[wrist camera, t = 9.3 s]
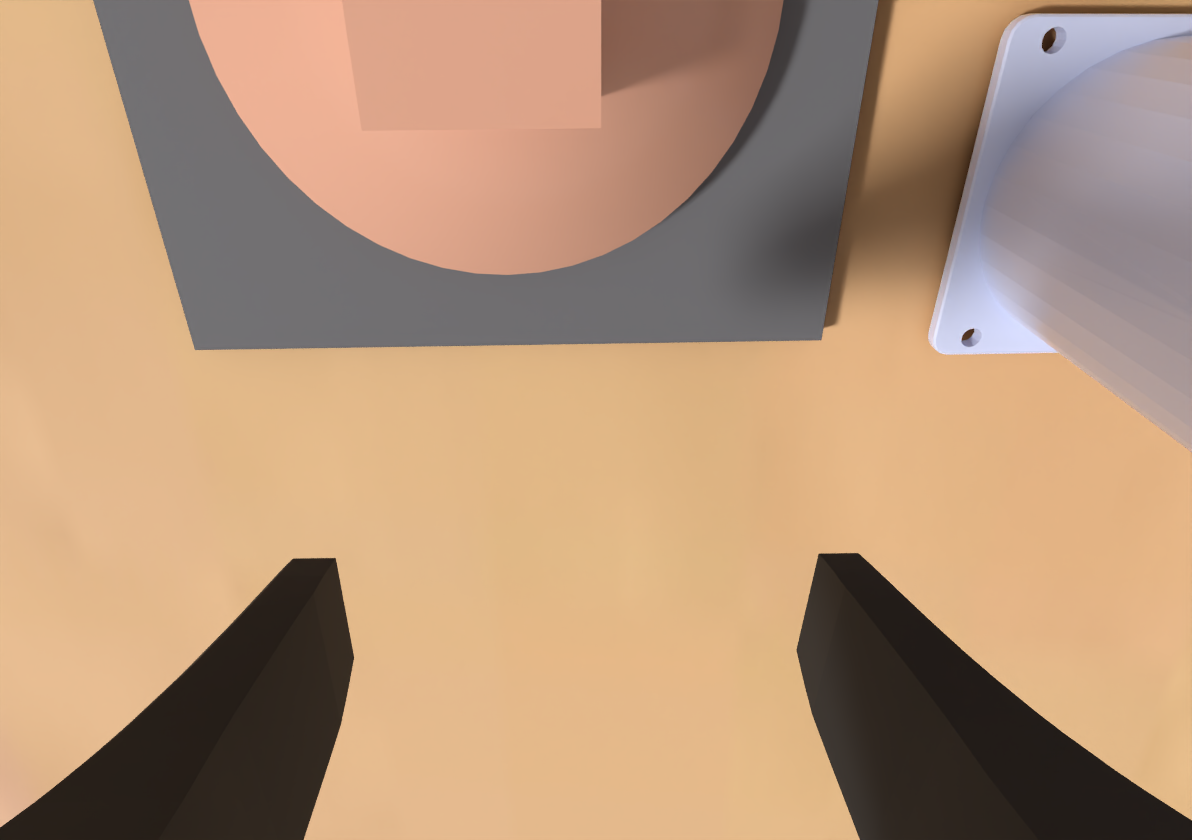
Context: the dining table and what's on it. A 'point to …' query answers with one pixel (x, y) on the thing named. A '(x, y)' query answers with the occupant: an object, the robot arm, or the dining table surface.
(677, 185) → the lid
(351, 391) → the dining table surface
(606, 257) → the mat
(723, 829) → the dining table surface
